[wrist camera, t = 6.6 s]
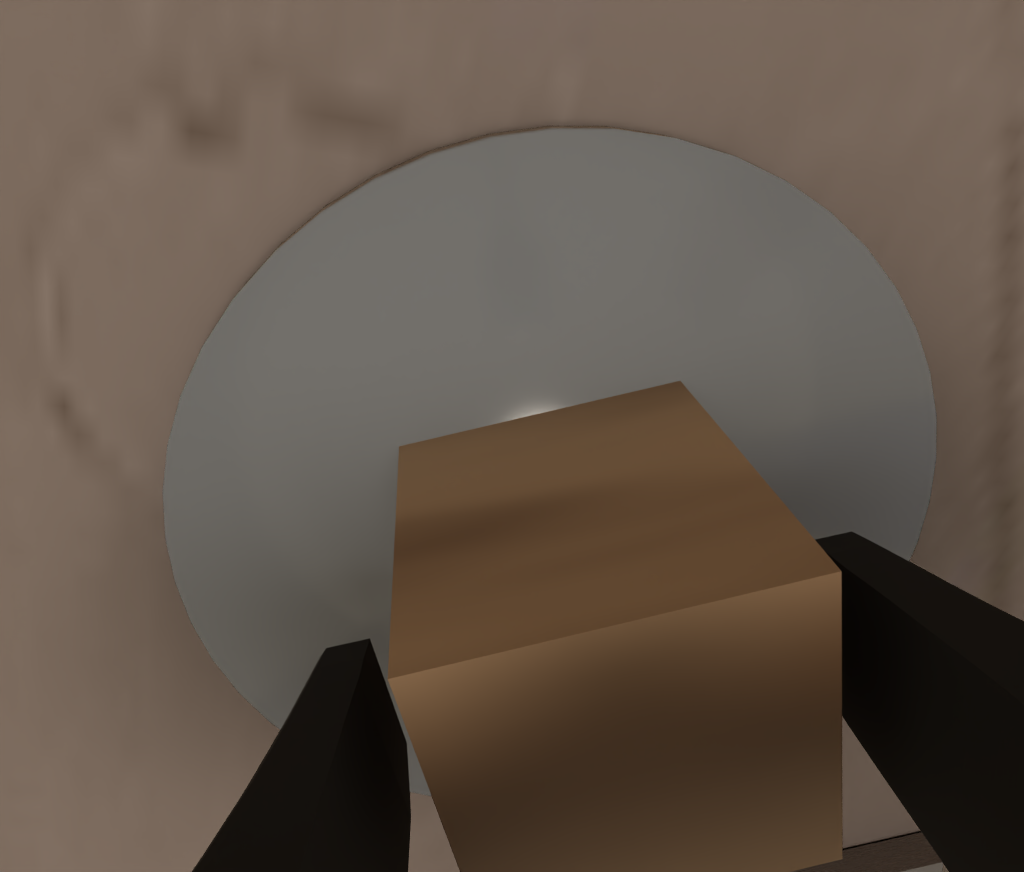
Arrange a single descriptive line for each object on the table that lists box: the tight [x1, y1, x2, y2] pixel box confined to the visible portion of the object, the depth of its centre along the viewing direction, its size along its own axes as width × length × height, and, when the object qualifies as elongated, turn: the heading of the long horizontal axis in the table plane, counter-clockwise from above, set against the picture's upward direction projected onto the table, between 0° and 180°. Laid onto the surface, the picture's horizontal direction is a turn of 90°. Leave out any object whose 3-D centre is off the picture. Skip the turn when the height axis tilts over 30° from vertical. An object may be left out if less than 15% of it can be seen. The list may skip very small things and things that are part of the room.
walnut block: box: [388, 381, 842, 872], centre depth 10 cm, size 4×4×5 cm
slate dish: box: [163, 126, 936, 796], centre depth 13 cm, size 13×13×1 cm
